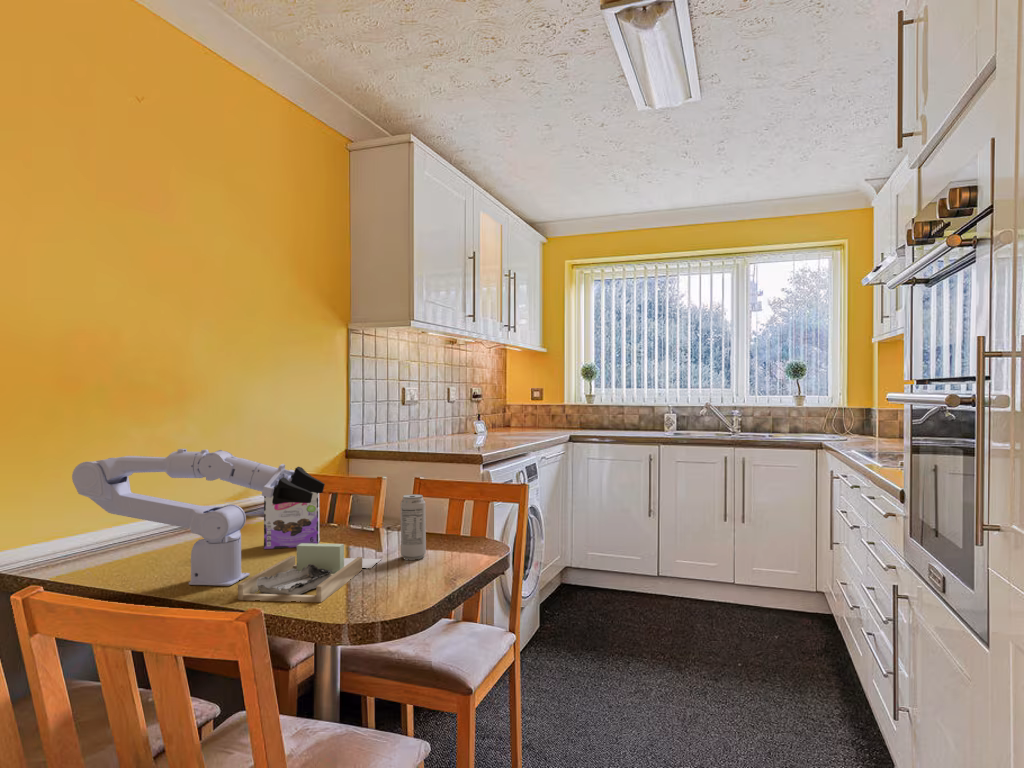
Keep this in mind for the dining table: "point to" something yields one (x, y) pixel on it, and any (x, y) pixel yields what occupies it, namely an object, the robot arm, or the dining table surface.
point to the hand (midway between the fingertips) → (317, 493)
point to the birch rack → (322, 590)
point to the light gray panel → (363, 562)
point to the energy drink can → (413, 527)
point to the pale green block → (320, 556)
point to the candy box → (291, 523)
